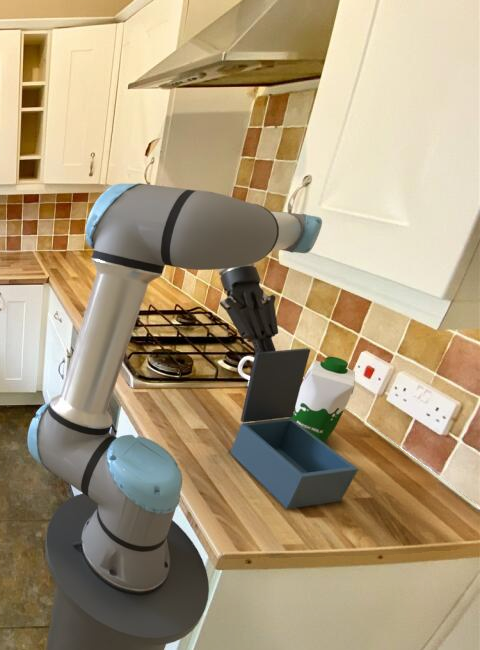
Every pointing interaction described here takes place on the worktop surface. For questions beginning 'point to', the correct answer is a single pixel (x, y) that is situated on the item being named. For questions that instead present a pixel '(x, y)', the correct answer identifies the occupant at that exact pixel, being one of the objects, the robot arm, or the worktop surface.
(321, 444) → the storage box
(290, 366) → the lid
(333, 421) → the milk carton
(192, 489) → the worktop surface
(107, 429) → the robot arm
